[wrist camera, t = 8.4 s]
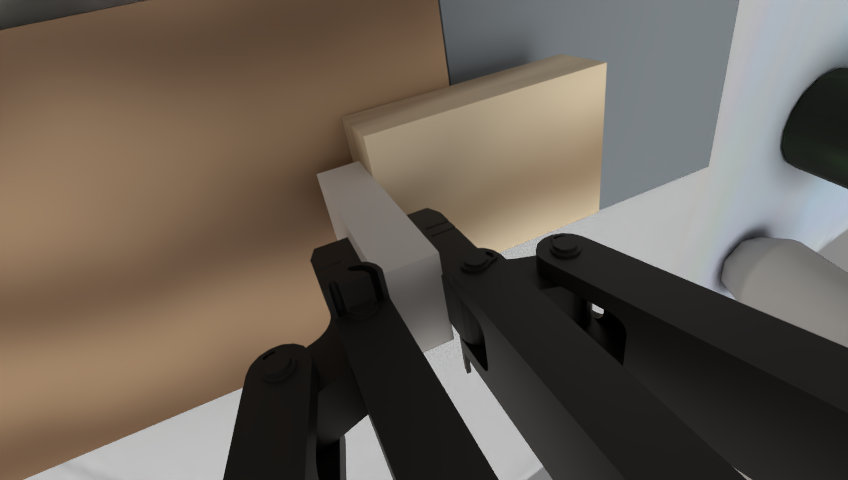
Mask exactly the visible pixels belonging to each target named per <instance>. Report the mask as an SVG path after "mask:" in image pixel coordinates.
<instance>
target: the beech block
mask: <svg viewBox="0 0 848 480" xmlns="http://www.w3.org/2000/svg"><path fill="white" fill-rule="evenodd" d="M606 71H607V62H602V61H596V60H591V59H585V58H580V57H574V56H569V55H564V54H559V55H555V56H552V57H548V58H545V59H541V60H538V61H534V62H531V63H527V64H524V65H521V66H517V67H514V68H510V69H507V70H503V71H500V72H496V73H493V74H489V75H486V76H482V77H479V78H475V79H472V80H469V81H465V82H462V83H458V84H455V85H451V86H448V87H444V88H441V89H437V90H434V91H430V92H427V93H423V94H420V95H417V96H413V97H410V98H406V99H403V100H399V101H396V102H392V103H389V104H385V105H382V106H378V107H375V108H372V109H368V110H365V111H361V112H358V113H354V114H351V115H347V116H344V117H342V121H343V125H344V129H345V133H346V136H347V140H348V144H349V148H350V152H351V155H352V159H353V163H354V162H357V161H359V162H360V163H361V164H362V165H363V166H364V167H365V169H366V170H367V171H368V172H369V173H370V174H371V175H372V177H373V178H374V179H375V180H376V181H377V182H378V183H379V185H380V186H381V187H382V188H383V189H384V190H385V191H386V193H387V194H388V195H389V196H390V197H391V198H392V199H393V201H394V202H395V203H396V204H397V205H398V206H399V207H400V209H401V210H402V211H403V212H404V213H405V214H406V215H408V214H411V213H413V212H416V211H419V210H422V209H425V208H429V209H432V210H435V211H438V212H441V213H442V214H443V215H444V216H445V217H446V218H447V219H448V220H449V222H451V223H452V224H453V225H454V226H455V228H457V229H458V230H459V231H460V232H461V233H462V234H463V235H464V236H465V237H467V238H468V239H469V240H470V241H471V242H472V243H473V244H474V245H475V246H476V247H477V248H487V249H492V250H494V251H496V252H498V253H500V252H502V251H505V250H507V249H509V248H512V247H514V246H517V245H519V244H522V243H524V242H526V241H529V240H531V239H534V238H536V237H539V236H541V235H544V234H546V233H548V232H551V231H553V230H556V229H558V228H561V227H563V226H565V225H568V224H570V223H573V222H575V221H578V220H580V219H583V218H585V217H587V216H590V215H592V214H595V213H597V212H599V201H600V182H601V164H602V145H603V127H604V108H605V89H606Z"/></svg>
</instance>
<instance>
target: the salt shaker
mask: <svg viewBox="0 0 848 480" xmlns="http://www.w3.org/2000/svg"><path fill="white" fill-rule="evenodd" d="M721 281H722V282H723V283H724V285H725V286H726V287H727V289H728V290H729V291H730V293H731V294H732V295H733V296H734V298H735V299H736V300H737V301H738V302H740V303H743V304H745V305H748V306H750V307H752V308H755V309H757V310H759V311H762V312H764V313H767V314H769V315H771V316H774V317H776V318H779V319H781V320H783V321H786V322H788V323H790V324H793V325H795V326H798V327H800V328H802V329H805V330H807V331H810V332H812V333H814V334H817V335H819V336H821V337H824V338H826V339H829V340H831V341H833V342H836V343H838V344H841V345H843V346H845V347H848V273H847V272H846V271H844V270H843V269H841V268H840V267H838V266H837V265H835V264H833V263H832V262H830V261H829V260H827V259H826V258H824V257H823V256H821V255H819V254H818V253H816V252H815V251H813V250H812V249H810V248H809V247H807V246H806V245H804V244H803V243H801V242H799V241H795V240H791V239H778V238H765V237H756V238H753V239H749V240H745V241H742V242H741V243H740V244H739V245H738V246H737V247H736V249H735V250H734V251H733V252H732V253H731V254H730V255H729V257H728V258H727V259H726V260H725V261H724V266H723V271H722V276H721Z"/></svg>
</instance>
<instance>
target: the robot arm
mask: <svg viewBox="0 0 848 480" xmlns="http://www.w3.org/2000/svg"><path fill="white" fill-rule="evenodd" d="M317 178H318V181H319V184H320V187H321V190H322V193H323V196H324V200H325V203H326V206H327V209H328V212H329V215H330V219H331V222H332V225H333V228H334V231H335V234H336V238H337V241H335V242H332V243H329V244H326V245H324V246H321V247H318V248H315V249H314V250H313V253H312V257H311V260H310V261H311V264H312V267H313V269H314V272H315V275H316V277H317V280H318V283H319V286H320V288H321V291H322V294H323V297H324V299H325V302H326V305H327V307H328V310H329V312H330V315H331V319H330V323H329V325H328V327H327V329H326V331H325V332H324V333H323V334H322V335H321V336H320V337H319V338H318V339H317V340H316V341H314V342H313V343H312V344H310V345H309V346H307V347H306V348H305V347H304V346H303V345H299V344H295V343H291V344H282V345H279V346H276V347H274V348H271V349H269V350H267V351H266V352H264V353H263V354H261V355H260V356H259V357H258V358H257V359H256V360H255V361H254V362H253V363H252V364H251V365H250V367H249V369H248V372H247V374H246V376H245V381H244V385H243V390H242V395H241V399H240V404H239V409H238V413H237V418H236V422H235V427H234V432H233V436H232V441H231V446H230V450H229V455H228V459H227V464H226V469H225V473H224V478H223V480H346V443H345V436H344V434H345V433H346V432H348V431H349V430H350V429H351V428H352V427H354V426H355V425H356V424H357V423H358V422H359V421H361V420H362V419H363V418H364V417H365V416H367V415H369V418H370V420H371V423H372V426H373V428H374V431H375V433H376V436H377V439H378V441H379V444H380V446H381V449H382V452H383V454H384V457H385V459H386V462H387V465H388V467H389V470H390V472H391V475H392V478H393V480H498V478H497V476H496V475H495V473H494V471H493V470H492V468H491V466H490V465H489V463H488V461H487V459H486V458H485V456H484V454H483V453H482V451H481V449H480V448H479V446H478V444H477V443H476V441H475V439H474V438H473V436H472V434H471V433H470V431H469V429H468V428H467V426H466V424H465V423H464V421H463V419H462V418H461V416H460V414H459V413H458V411H457V409H456V408H455V406H454V404H453V403H452V401H451V399H450V398H449V396H448V394H447V393H446V391H445V389H444V387H443V386H442V384H441V382H440V381H439V379H438V377H437V376H436V374H435V372H434V371H433V369H432V367H431V366H430V364H429V362H428V361H427V359H426V357H425V356H424V354H423V352H426V351H428V350H430V349H432V348H435V347H437V346H439V345H442V344H444V343H446V342H448V341H451V340H453V339H454V336H453V330H452V325H453V326H454V328H455V329H456V331H457V332H458V333H459V335H460V341H461V347H462V353H463V359H464V365H465V369H466V371H467V374H468V373H470V372H471V367H470V362H471V363H472V365H473V366H474V368H475V369H476V371H477V372H478V373H479V375H480V376H481V378H482V379H483V381H484V382H485V383H486V385H487V386H488V388H489V389H490V391H491V392H492V393H493V395H494V396H495V398H496V399H497V401H498V402H499V403H500V405H501V406H502V408H503V409H504V411H505V412H506V413H507V415H508V416H509V418H510V419H511V421H512V422H513V423H514V425H515V426H516V428H517V429H518V431H519V432H520V433H521V435H522V436H523V438H524V439H525V441H526V442H527V443H528V445H529V446H530V448H531V449H532V451H533V452H534V453H535V455H536V456H537V458H538V459H539V461H540V462H541V463H542V465H543V466H544V468H545V469H546V470H547V472H548V473H549V475H550V476H551V478H552V479H553V480H746V479H745V478H744V477H743V476H742V475H741V474H740V473H739V472H738V471H736V470H735V469H734V468H736V469H737V470H739V471H740V472H742V473H743V474H745V475H746V476H748V477H749V478H751V479H752V480H848V347H845V346H843V345H841V344H838V343H836V342H833V341H831V340H829V339H826V338H824V337H821V336H819V335H817V334H814V333H812V332H810V331H807V330H805V329H802V328H800V327H798V326H795V325H793V324H790V323H788V322H786V321H783V320H781V319H779V318H776V317H774V316H771V315H769V314H767V313H764V312H762V311H759V310H757V309H755V308H752V307H750V306H748V305H745V304H743V303H740V302H738V301H736V300H733V299H731V298H728V297H726V296H724V295H721V294H719V293H717V292H714V291H712V290H709V289H707V288H705V287H702V286H700V285H697V284H695V283H693V282H690V281H688V280H685V279H683V278H681V277H678V276H676V275H674V274H671V273H669V272H666V271H664V270H662V269H659V268H657V267H654V266H652V265H650V264H647V263H645V262H643V261H640V260H638V259H635V258H633V257H631V256H628V255H626V254H623V253H621V252H619V251H616V250H614V249H612V248H609V247H607V246H604V245H602V244H600V243H597V242H595V241H592V240H590V239H588V238H585V237H583V236H579V235H575V234H566V233H561V234H555V235H550V236H548V237H546V238H544V239H542V240H541V241H540V242H539V243H538V244H537V248H536V256H530V257H523V258H517V259H505V258H504V257H503V256H502V255H501V254H499V253H498V252H496V251H494V250H492V249H487V248H477V247H476V246H475V245H474V244H473V243H472V242H471V241H470V240H469V239H468V238H467V237H465V236H464V235H463V234H462V233H461V232H460V231H459V230H458V229H457V228H455V226H454V225H453V224H452V223H451V222H449V220H448V219H447V218H446V217H445V216H444V215H443V214H442V213H441V212H438V211H435V210H432V209H429V208H425V209H422V210H419V211H416V212H413V213H411V214H408V215H406V214H405V213H404V212H403V211H402V210H401V209H400V207H399V206H398V205H397V204H396V203H395V202H394V201H393V199H392V198H391V197H390V196H389V195H388V194H387V193H386V191H385V190H384V189H383V188H382V187H381V186H380V185H379V183H378V182H377V181H376V180H375V179H374V178H373V177H372V175H371V174H370V173H369V172H368V171H367V170H366V169H365V167H364V166H363V165H362V164H361V163H360V162H359V161H357V162H354V163H351V164H348V165H345V166H341V167H338V168H335V169H332V170H329V171H325V172H322V173H319V174H317ZM592 303H593V304H595V305H596V306H598V307H600V308H602V309H604V313H603V314H599V313H597V312H595V311H593V310H592ZM451 324H452V325H451ZM732 466H733V467H734V468H733V467H732Z"/></svg>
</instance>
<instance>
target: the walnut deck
mask: <svg viewBox="0 0 848 480" xmlns="http://www.w3.org/2000/svg"><path fill="white" fill-rule="evenodd" d="M448 86H449V79H448V72H447V64H446V57H445V50H444V42H443V35H442V28H441V20H440V13H439V5H438V0H144V1H139V2H134V3H129V4H124V5H119V6H115V7H110V8H105V9H100V10H95V11H90V12H85V13H80V14H75V15H70V16H66V17H61V18H56V19H51V20H46V21H41V22H36V23H31V24H26V25H21V26H16V27H12V28H7V29H2V30H0V480H23V479H26V478H28V477H31V476H33V475H35V474H38V473H40V472H42V471H45V470H47V469H50V468H52V467H54V466H57V465H59V464H62V463H64V462H66V461H69V460H71V459H73V458H76V457H78V456H81V455H83V454H85V453H88V452H90V451H93V450H95V449H97V448H100V447H102V446H104V445H107V444H109V443H112V442H114V441H116V440H119V439H121V438H124V437H126V436H128V435H131V434H133V433H135V432H138V431H140V430H143V429H145V428H147V427H150V426H152V425H155V424H157V423H159V422H162V421H164V420H166V419H169V418H171V417H174V416H176V415H178V414H181V413H183V412H186V411H188V410H190V409H193V408H195V407H197V406H200V405H202V404H205V403H207V402H209V401H212V400H214V399H217V398H219V397H221V396H224V395H226V394H228V393H231V392H233V391H236V390H238V389H240V388H243V385H244V381H245V376H246V374H247V372H248V369H249V367H250V365H251V364H252V363H253V362H254V361H255V360H256V359H257V358H258V357H259V356H260V355H261V354H263V353H264V352H266V351H267V350H269V349H271V348H274V347H276V346H279V345H282V344H291V343H295V344H299V345H303V346H304V347H305V348H306V347H307V346H309V345H310V344H312V343H313V342H314V341H316V340H317V339H318V338H319V337H320V336H321V335H322V334H323V333H324V332H325V331H326V329H327V327H328V325H329V323H330V319H331V315H330V312H329V310H328V307H327V305H326V302H325V299H324V297H323V294H322V291H321V288H320V286H319V283H318V280H317V277H316V275H315V272H314V269H313V267H312V264H311V261H310V260H311V257H312V253H313V250H314V249H315V248H318V247H321V246H324V245H326V244H329V243H332V242H335V241H337V238H336V234H335V231H334V228H333V225H332V222H331V219H330V215H329V212H328V209H327V206H326V203H325V200H324V196H323V193H322V190H321V187H320V184H319V181H318V178H317V174H319V173H322V172H325V171H329V170H332V169H335V168H338V167H341V166H345V165H348V164H351V163H353V159H352V155H351V152H350V148H349V144H348V140H347V136H346V133H345V129H344V125H343V121H342V117H344V116H347V115H351V114H354V113H358V112H361V111H365V110H368V109H372V108H375V107H378V106H382V105H385V104H389V103H392V102H396V101H399V100H403V99H406V98H410V97H413V96H417V95H420V94H423V93H427V92H430V91H434V90H437V89H441V88H444V87H448Z"/></svg>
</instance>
